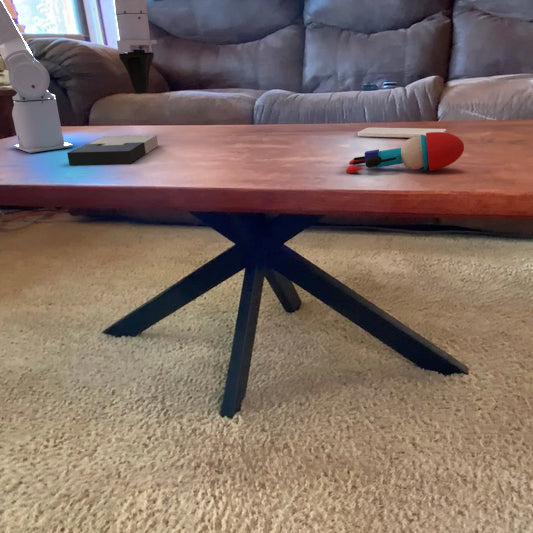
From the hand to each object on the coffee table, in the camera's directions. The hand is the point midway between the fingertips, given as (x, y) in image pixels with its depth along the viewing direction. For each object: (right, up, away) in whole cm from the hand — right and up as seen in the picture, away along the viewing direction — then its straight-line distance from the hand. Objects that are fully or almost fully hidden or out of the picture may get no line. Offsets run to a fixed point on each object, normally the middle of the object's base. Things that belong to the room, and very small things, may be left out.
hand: (141, 92), depth 99 cm
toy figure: (+43, -21, -30) cm, 56 cm away
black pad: (-2, -16, -15) cm, 22 cm away
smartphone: (+49, -9, -4) cm, 51 cm away
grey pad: (-1, -13, -8) cm, 15 cm away
